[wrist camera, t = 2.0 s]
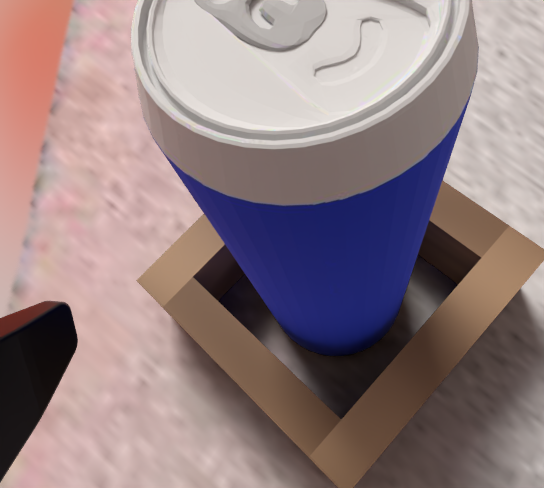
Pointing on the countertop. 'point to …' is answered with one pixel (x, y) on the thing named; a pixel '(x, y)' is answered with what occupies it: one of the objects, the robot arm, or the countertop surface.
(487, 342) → the countertop surface
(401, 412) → the wooden tray
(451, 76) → the beverage can
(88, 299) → the countertop surface
